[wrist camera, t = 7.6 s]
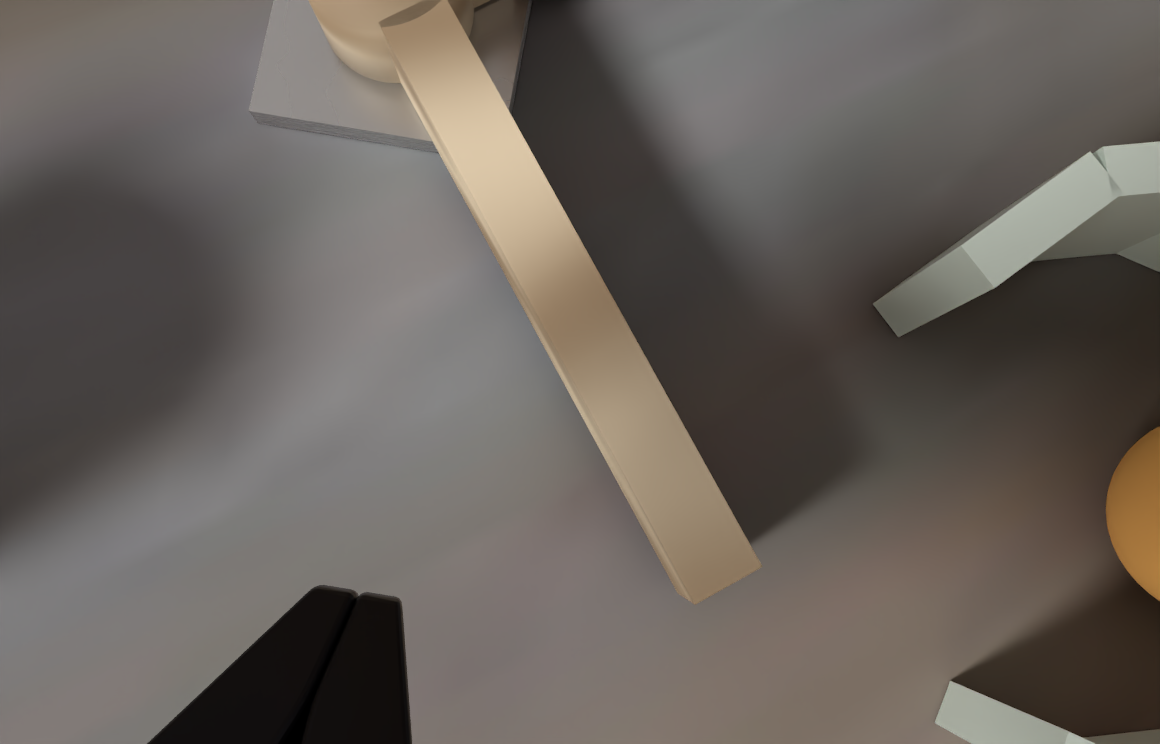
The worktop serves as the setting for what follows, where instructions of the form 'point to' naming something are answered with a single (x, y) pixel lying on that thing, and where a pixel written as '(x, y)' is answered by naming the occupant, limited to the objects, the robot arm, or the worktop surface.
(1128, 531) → the ball
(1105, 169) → the curved wall
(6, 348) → the worktop surface
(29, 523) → the worktop surface
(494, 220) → the flipper lever
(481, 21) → the pivot plate
